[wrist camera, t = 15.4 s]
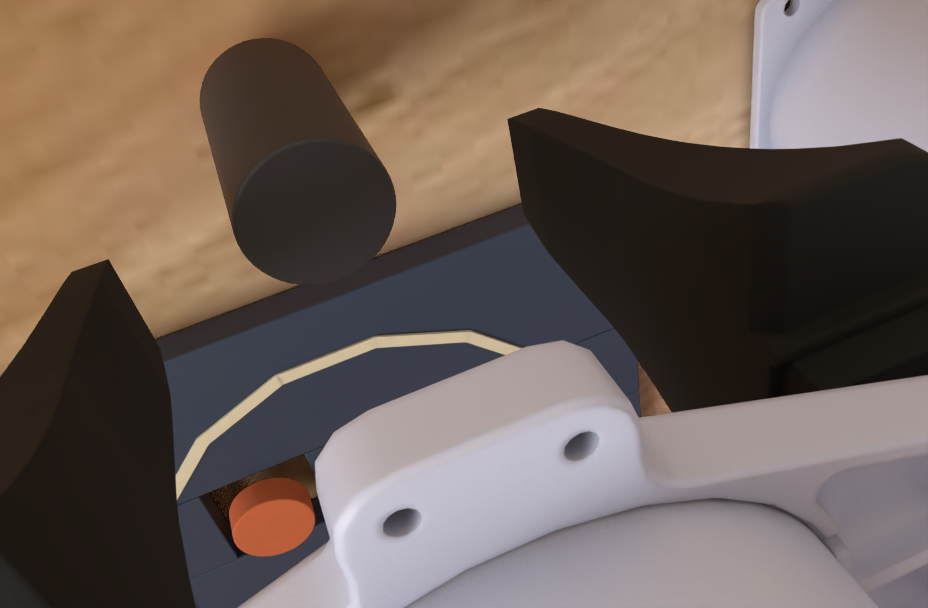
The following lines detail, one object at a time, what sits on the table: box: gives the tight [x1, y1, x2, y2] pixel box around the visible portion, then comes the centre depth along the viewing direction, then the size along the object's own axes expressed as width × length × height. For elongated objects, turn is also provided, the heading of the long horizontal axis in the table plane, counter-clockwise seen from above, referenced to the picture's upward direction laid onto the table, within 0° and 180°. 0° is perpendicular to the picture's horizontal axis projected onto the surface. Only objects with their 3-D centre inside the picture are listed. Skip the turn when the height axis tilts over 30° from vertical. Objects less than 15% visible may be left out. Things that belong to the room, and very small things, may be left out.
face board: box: [155, 204, 641, 608], centre depth 29 cm, size 20×18×1 cm
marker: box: [200, 38, 396, 285], centre depth 17 cm, size 3×3×7 cm
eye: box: [229, 477, 315, 556], centre depth 26 cm, size 3×3×1 cm
